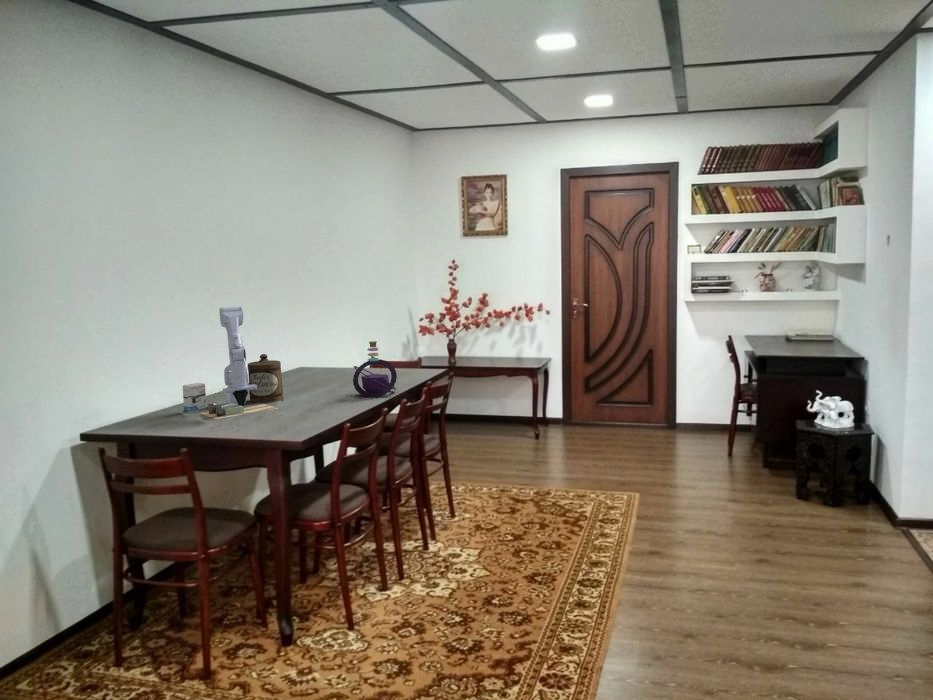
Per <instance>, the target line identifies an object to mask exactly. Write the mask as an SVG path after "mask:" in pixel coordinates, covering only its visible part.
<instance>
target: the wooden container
mask: <svg viewBox="0 0 933 700" xmlns="http://www.w3.org/2000/svg"><path fill="white" fill-rule="evenodd" d="M247 374H248V385H252V384H256V385H257V389H252V390H248V394H249V402H251V403H253V404H258V403H262V404H265V403H273V402H275V403H276V402H279V401H280V402H284V389H283V388H284V385H283V377H282V366H281V361H280V360H276V359H275V360H272V359H271V360H269V359H268V355H267V354H266V353H262V354H260V355H259V360H258V361H253V362H252V361H251V362H248V363H247Z"/></svg>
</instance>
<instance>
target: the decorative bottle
mask: <svg viewBox="0 0 933 700" xmlns="http://www.w3.org/2000/svg"><path fill="white" fill-rule="evenodd" d="M368 344H369V348H367V351H368V352H370V353H367V356H369V357H370V358H368V359H367V361H365V362H363V363H362V364H360V365H359V366H357V365H353V369H355V372H354V375H353V378H352V385H353V387H354V389H355V390H356V392H357V393H358V394H360V396H361V395H362V397H364V398H365V397H366V398H374V399H375V398H379V397H382V396H384V395H386V394H387V393H389V392H390V391H391V390H394V391H395V390H397V389H396V386H395V385H396V382H397V380H398V379H397V378H398V375H397V370H396V368H395V367H394V365H393V364H392V363H390V362H389V361H387V360H384V359H380V358H379V357H378V356H379V355H380V354H379V352H377V351H379V347H377V340H371V341H368ZM376 364H377V365H383V366H385V367H386V368H387V369H388V370H389V371H390V375H391V378H390V377H389V374H383V373H382V374H380V373H378V374H377V373H372V372H371V371H368V370H367V369H366V368H368V367H369V366H370V365H376ZM362 371H364V372H366V373H369V374H366V373H364V372H362ZM360 374H362V375H361V377H360ZM359 377H360V378H361V384H362V385H361V386H362V387H361V386H360V383H359ZM389 379H390V380H389Z"/></svg>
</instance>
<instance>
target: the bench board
mask: <svg viewBox="0 0 933 700" xmlns="http://www.w3.org/2000/svg"><path fill="white" fill-rule="evenodd" d="M278 409H280V407H279V408H278V407H276V406H272V405H269V404H265V403H253V404H246V405H244V412H243V413H237V414H231V415H224V416H219V417H218V416H217V415H216V413H215V414H209V410H208V411H203V412H199V414H200V415H203V416H206V417H209V418H212V419H215V420H219V419H220V420H221V419H225V418H230V417H237V416H242V415H243V416H244V415H248V414H249V415H251V414H254V413H255V414H256V413H259V412H260V413H261V412H265V411H273V410H278Z"/></svg>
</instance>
